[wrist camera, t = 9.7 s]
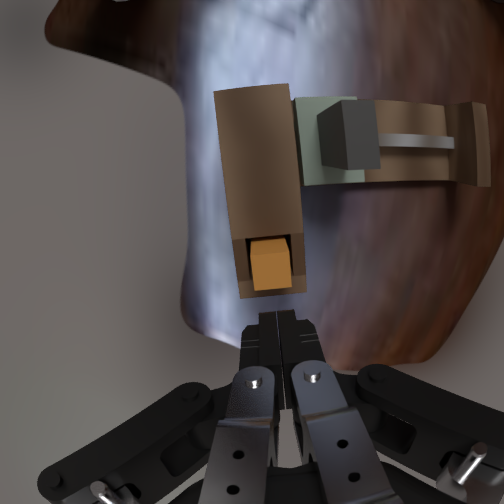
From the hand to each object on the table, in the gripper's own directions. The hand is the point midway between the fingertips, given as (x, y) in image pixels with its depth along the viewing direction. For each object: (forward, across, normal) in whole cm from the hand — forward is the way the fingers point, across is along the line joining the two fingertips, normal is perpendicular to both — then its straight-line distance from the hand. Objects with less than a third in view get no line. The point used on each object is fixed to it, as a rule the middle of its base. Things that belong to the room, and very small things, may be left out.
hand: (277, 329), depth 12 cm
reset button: (+11, 0, 0) cm, 11 cm away
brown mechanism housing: (+17, -10, -5) cm, 20 cm away
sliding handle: (+16, -6, -8) cm, 19 cm away
